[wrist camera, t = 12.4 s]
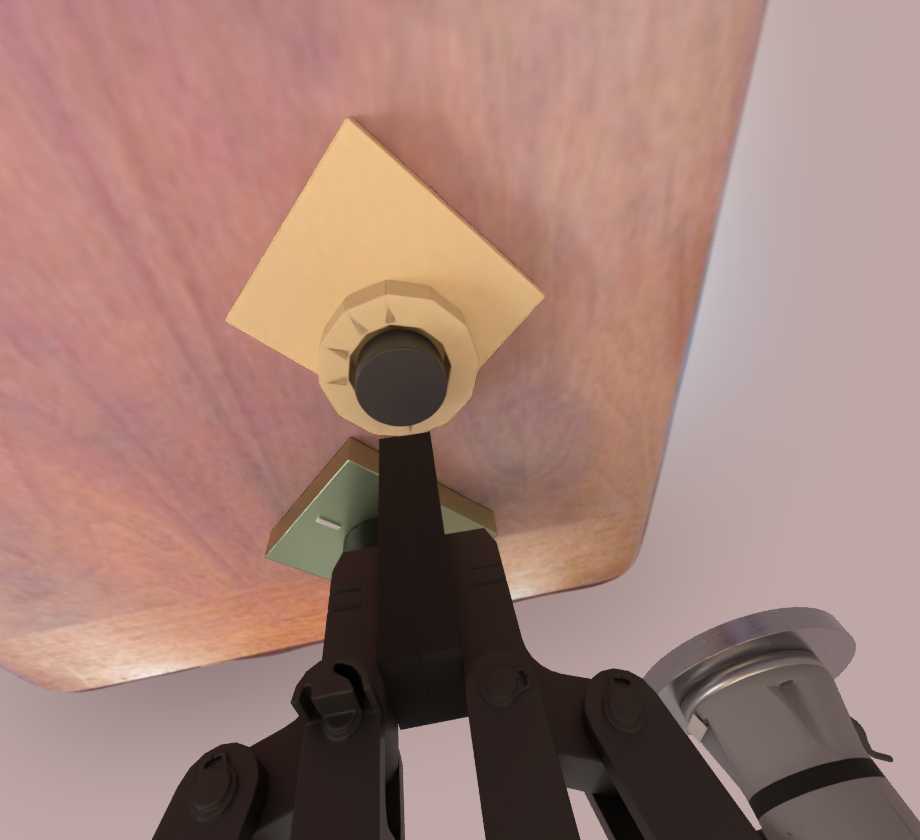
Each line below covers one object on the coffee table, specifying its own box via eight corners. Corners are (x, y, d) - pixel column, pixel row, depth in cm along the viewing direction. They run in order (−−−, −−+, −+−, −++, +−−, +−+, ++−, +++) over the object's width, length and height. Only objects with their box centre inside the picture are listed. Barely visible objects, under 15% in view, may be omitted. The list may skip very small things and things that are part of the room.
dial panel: (493, 510, 30) (500, 535, 28) (410, 585, 33) (412, 612, 31) (351, 435, 25) (348, 460, 23) (269, 532, 28) (262, 561, 26)
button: (459, 360, 19) (466, 380, 18) (408, 418, 20) (411, 441, 19) (390, 310, 17) (390, 328, 16) (339, 377, 19) (335, 398, 17)
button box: (532, 281, 21) (559, 311, 18) (414, 413, 24) (419, 460, 21) (350, 116, 17) (342, 116, 13) (235, 306, 20) (206, 344, 17)
